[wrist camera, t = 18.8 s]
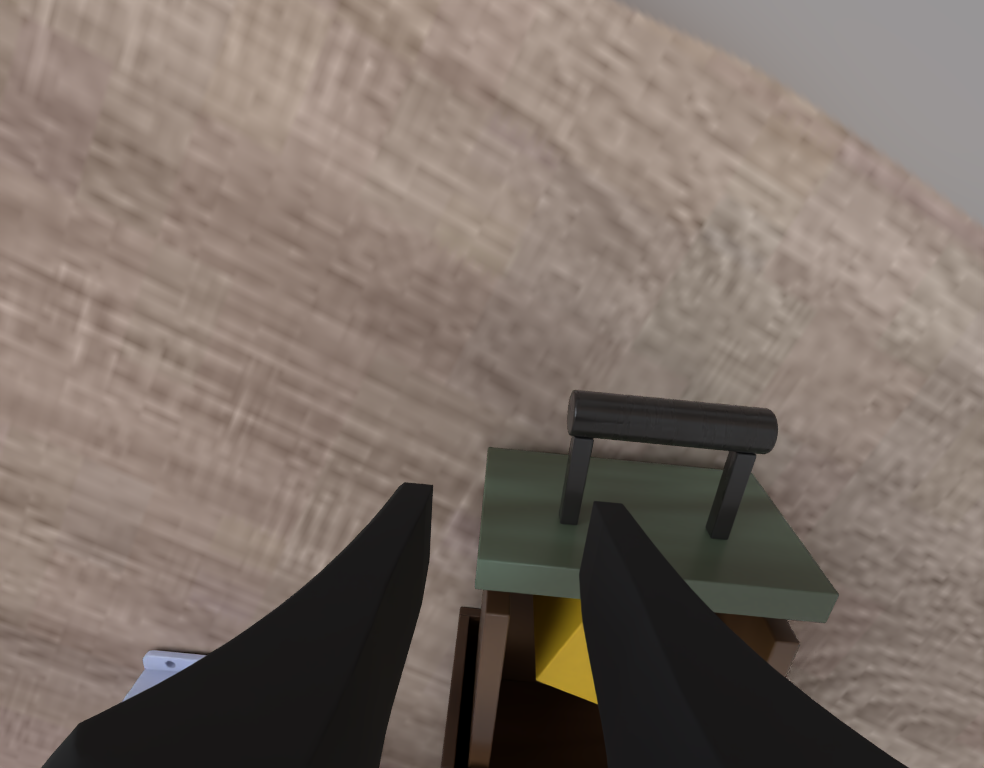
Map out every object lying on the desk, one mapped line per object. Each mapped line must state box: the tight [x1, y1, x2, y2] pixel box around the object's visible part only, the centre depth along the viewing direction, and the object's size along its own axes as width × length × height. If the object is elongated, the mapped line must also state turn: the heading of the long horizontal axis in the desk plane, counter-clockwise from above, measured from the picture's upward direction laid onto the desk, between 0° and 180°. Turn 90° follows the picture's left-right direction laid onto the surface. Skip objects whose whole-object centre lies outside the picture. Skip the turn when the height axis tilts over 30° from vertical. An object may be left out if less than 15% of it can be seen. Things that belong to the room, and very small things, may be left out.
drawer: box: [467, 390, 839, 768], centre depth 21 cm, size 18×11×6 cm, turn 175°
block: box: [533, 595, 598, 704], centre depth 21 cm, size 4×4×4 cm
